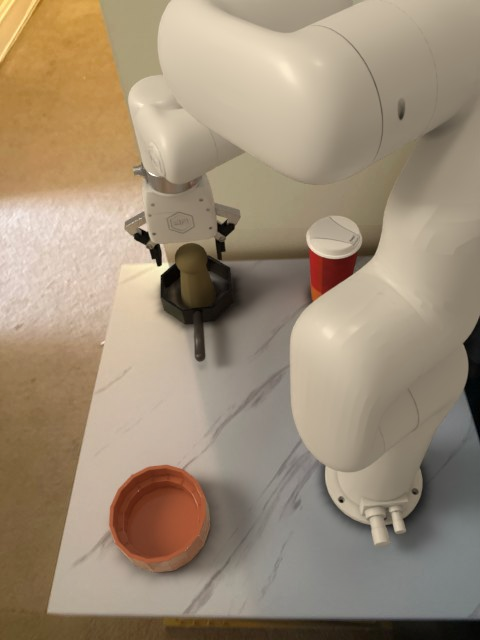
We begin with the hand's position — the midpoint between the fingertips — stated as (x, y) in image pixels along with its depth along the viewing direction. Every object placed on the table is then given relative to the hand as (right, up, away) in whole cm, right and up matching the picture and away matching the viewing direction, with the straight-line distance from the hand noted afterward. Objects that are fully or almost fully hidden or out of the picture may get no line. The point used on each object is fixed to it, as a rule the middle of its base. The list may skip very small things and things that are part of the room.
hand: (189, 257), depth 90 cm
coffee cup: (+23, -6, +5) cm, 24 cm away
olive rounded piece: (+1, -6, +7) cm, 9 cm away
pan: (+1, -10, +4) cm, 10 cm away
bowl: (-2, -37, -16) cm, 40 cm away
